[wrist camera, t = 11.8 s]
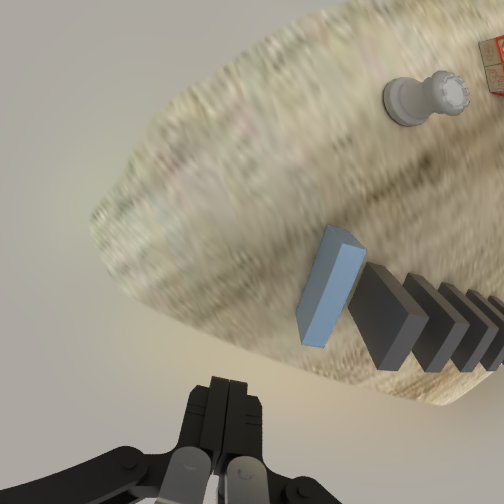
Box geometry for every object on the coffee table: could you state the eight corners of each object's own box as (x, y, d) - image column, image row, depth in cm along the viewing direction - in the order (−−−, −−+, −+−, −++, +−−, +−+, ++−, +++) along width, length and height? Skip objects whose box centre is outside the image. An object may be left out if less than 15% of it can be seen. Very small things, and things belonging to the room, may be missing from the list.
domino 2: (422, 276, 25) (470, 324, 17) (403, 317, 27) (440, 372, 19) (408, 272, 25) (455, 322, 17) (388, 315, 27) (424, 372, 18)
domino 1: (384, 266, 25) (429, 317, 17) (365, 311, 27) (397, 371, 18) (366, 262, 25) (408, 313, 16) (348, 307, 27) (377, 369, 18)
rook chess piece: (406, 137, 21) (461, 138, 13) (371, 100, 20) (418, 84, 12) (431, 106, 19) (487, 99, 12) (398, 69, 18) (448, 47, 11)
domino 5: (497, 297, 26) (536, 333, 18) (480, 329, 28) (514, 369, 19) (489, 295, 26) (530, 332, 18) (472, 328, 28) (507, 370, 19)
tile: (366, 250, 19) (323, 348, 22) (347, 230, 24) (314, 316, 27) (342, 243, 19) (301, 344, 22) (326, 224, 24) (295, 312, 27)
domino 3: (453, 285, 26) (499, 328, 17) (434, 322, 27) (471, 372, 19) (441, 281, 25) (488, 327, 17) (422, 321, 27) (460, 372, 19)
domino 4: (477, 291, 26) (520, 331, 17) (459, 326, 28) (496, 370, 19) (468, 289, 26) (512, 330, 17) (450, 325, 27) (487, 371, 19)
